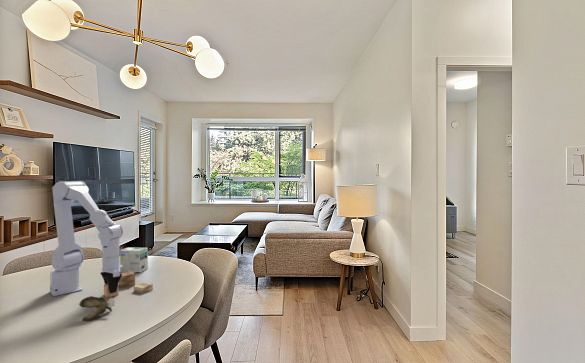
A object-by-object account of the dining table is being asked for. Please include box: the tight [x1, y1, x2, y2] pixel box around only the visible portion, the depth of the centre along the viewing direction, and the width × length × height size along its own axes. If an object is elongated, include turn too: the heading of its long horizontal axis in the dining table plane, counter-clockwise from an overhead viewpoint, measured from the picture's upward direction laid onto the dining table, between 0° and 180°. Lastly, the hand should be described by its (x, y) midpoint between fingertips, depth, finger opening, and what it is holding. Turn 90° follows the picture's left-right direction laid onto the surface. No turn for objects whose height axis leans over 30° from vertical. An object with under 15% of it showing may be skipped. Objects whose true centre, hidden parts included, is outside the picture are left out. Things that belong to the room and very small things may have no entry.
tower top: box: [120, 271, 136, 282], centre depth 131 cm, size 5×5×2 cm
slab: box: [133, 281, 154, 294], centre depth 125 cm, size 5×5×2 cm
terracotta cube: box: [103, 283, 120, 298], centre depth 120 cm, size 4×4×4 cm
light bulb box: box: [119, 247, 149, 273], centre depth 151 cm, size 11×7×11 cm, turn 84°
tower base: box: [118, 279, 136, 288], centre depth 132 cm, size 5×5×2 cm
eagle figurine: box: [78, 295, 116, 322], centre depth 103 cm, size 8×7×9 cm
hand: (111, 291), depth 120 cm, fingers closed on terracotta cube, 4 cm apart
